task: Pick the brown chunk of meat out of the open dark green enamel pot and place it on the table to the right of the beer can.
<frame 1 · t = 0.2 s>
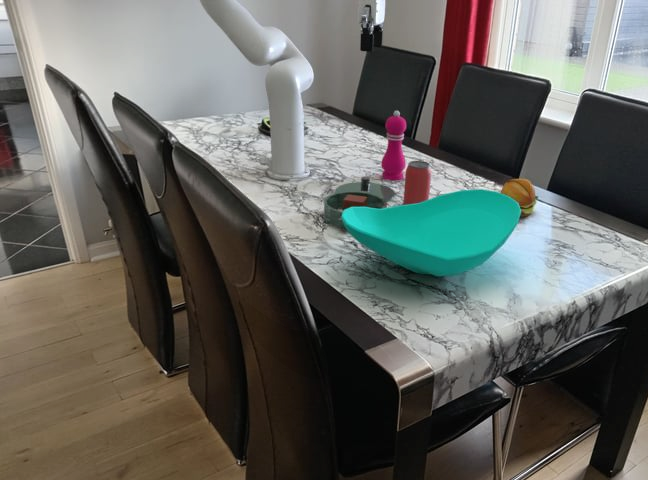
hand: (371, 49, 149), 37 cm above the table, tool pointing down, fingers open, 9 cm apart
cheeseburger: (515, 212, 154), on the table
lid: (364, 193, 159), point 1 cm above the table
table top decor: (428, 267, 123), on the table
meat: (354, 217, 144), resting on pot
salad plate: (282, 132, 212), on the table
pot: (354, 219, 144), on the table
pepper mill: (392, 179, 173), on the table
beer can: (415, 208, 153), on the table
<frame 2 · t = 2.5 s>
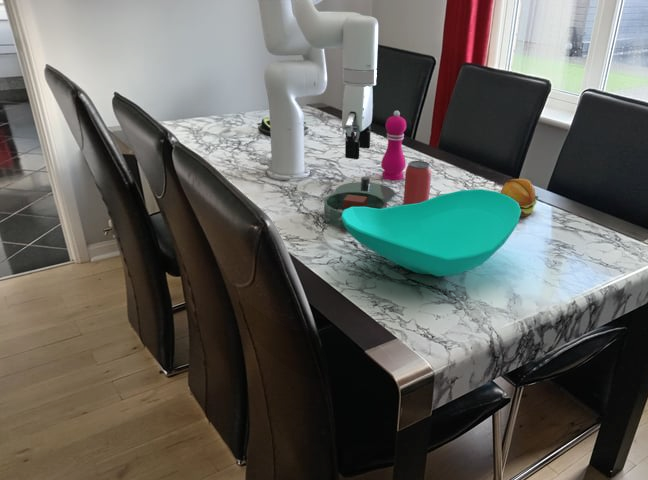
hand: (357, 152, 136), 17 cm above the table, tool pointing down, fingers open, 9 cm apart
nothing on the table moved.
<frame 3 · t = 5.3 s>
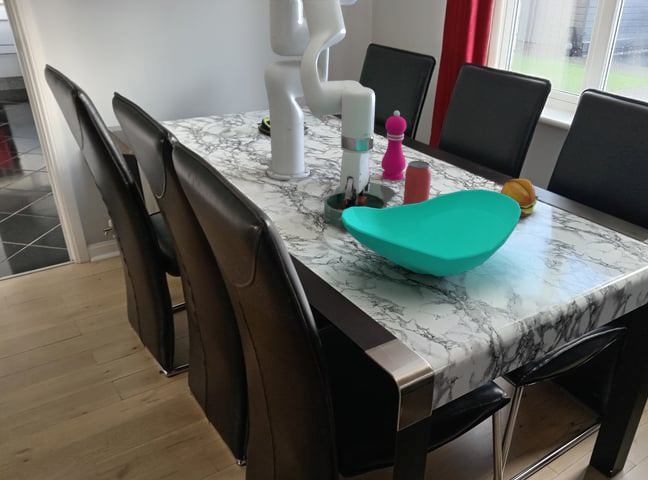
hand: (354, 214, 144), 1 cm above the table, tool pointing down, fingers closed on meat, 4 cm apart
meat: (354, 217, 144), point 1 cm above the table, touching gripper, pot
everything else where it was.
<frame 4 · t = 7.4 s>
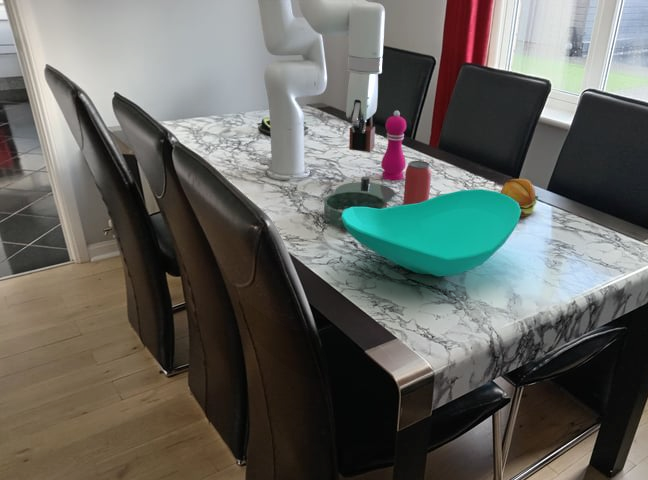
hand: (361, 146, 136), 18 cm above the table, tool pointing down, fingers closed on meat, 4 cm apart
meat: (361, 148, 136), point 18 cm above the table, touching gripper
everything else where it was.
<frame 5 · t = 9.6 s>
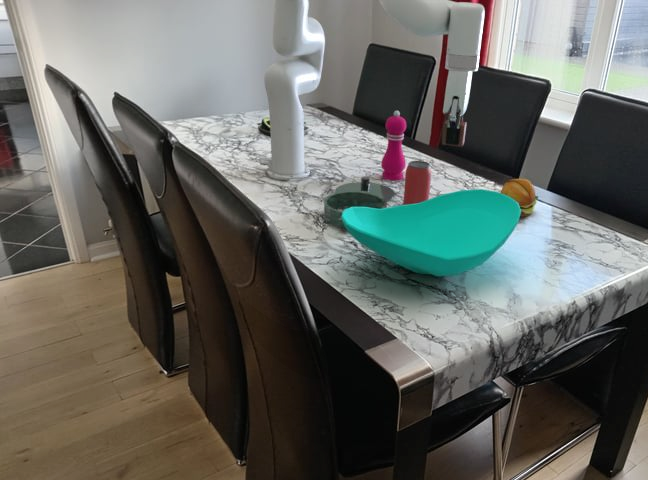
hand: (453, 141, 141), 19 cm above the table, tool pointing down, fingers closed on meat, 4 cm apart
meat: (453, 143, 141), point 18 cm above the table, touching gripper
everything else where it was.
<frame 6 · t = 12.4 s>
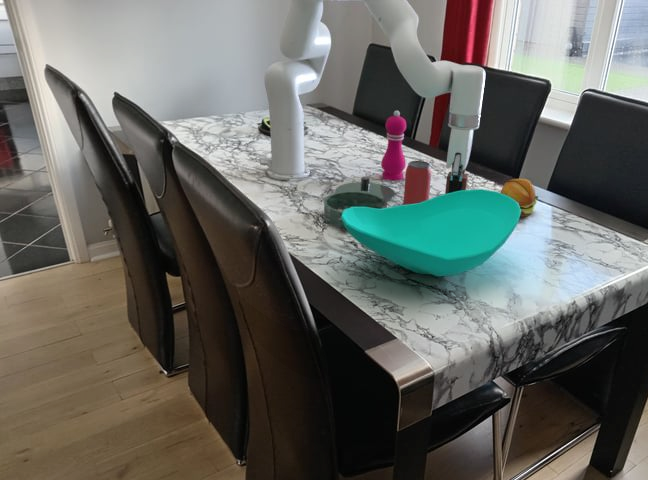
hand: (455, 191, 148), 6 cm above the table, tool pointing down, fingers closed on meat, 4 cm apart
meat: (455, 193, 148), point 5 cm above the table, touching gripper
everything else where it was.
when the fingers open (1 cm above the table, at t = 14.1 s): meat stays where it is, on the table.
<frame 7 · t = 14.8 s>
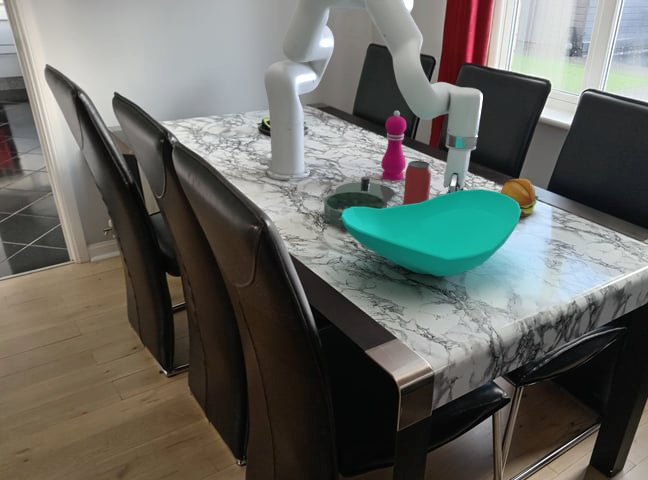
hand: (453, 206, 150), 2 cm above the table, tool pointing down, fingers open, 9 cm apart
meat: (453, 213, 151), on the table
everything else where it was.
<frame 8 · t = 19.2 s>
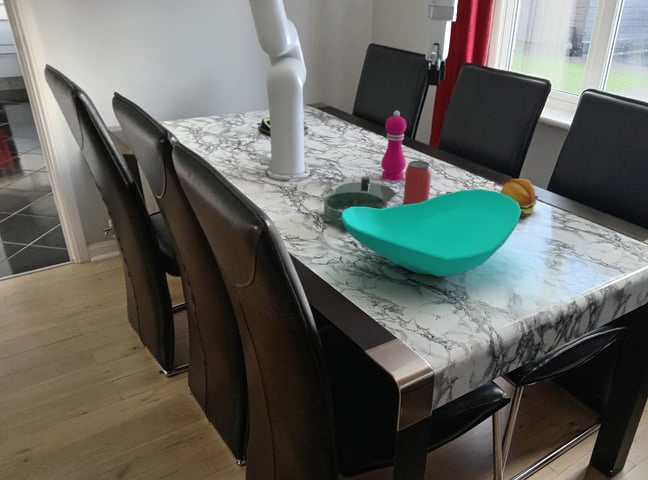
hand: (435, 82, 159), 28 cm above the table, tool pointing down, fingers open, 9 cm apart
nothing on the table moved.
at the end: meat inside the target area on the table beside the beer can (0.1 cm from its centre), on the table; the gripper is holding nothing; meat moved 26.5 cm from its start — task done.
